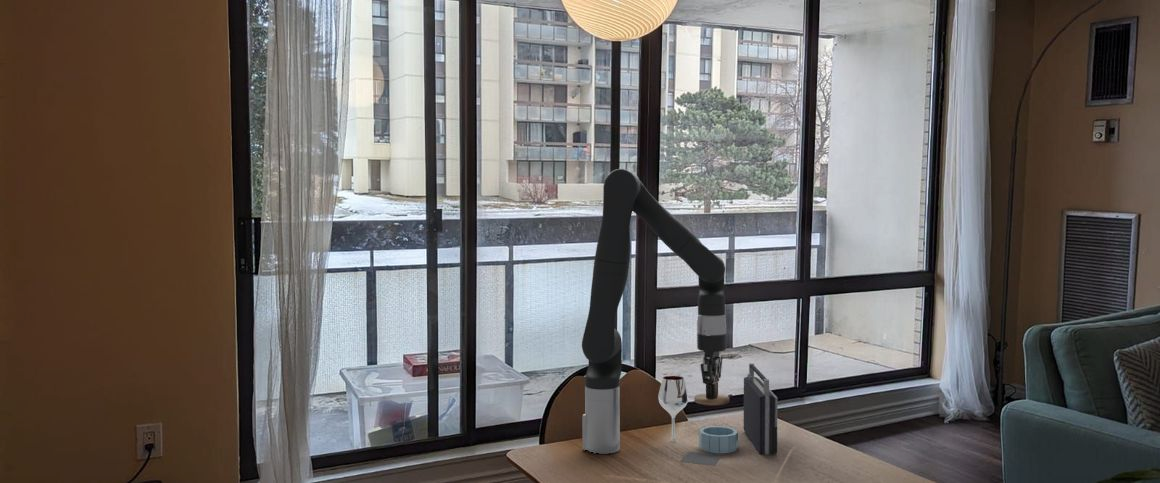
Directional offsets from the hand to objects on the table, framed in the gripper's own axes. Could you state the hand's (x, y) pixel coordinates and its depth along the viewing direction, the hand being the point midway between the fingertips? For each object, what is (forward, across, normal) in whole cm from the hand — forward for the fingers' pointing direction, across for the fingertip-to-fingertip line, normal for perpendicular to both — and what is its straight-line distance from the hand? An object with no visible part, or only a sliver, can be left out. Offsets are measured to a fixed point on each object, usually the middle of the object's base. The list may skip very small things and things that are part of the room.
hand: (712, 397), depth 222 cm
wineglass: (+15, -7, -13) cm, 21 cm away
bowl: (+15, -5, 0) cm, 16 cm away
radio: (+16, -16, +9) cm, 24 cm away
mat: (+15, +6, -1) cm, 16 cm away
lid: (+1, 0, 0) cm, 1 cm away
